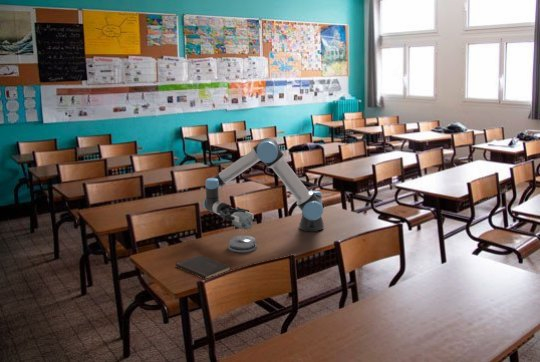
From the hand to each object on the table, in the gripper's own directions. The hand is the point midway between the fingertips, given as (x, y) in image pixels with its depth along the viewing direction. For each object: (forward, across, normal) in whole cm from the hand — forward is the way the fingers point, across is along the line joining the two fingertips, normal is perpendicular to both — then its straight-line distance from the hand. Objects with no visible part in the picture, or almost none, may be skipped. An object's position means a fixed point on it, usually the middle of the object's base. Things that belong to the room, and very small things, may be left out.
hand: (245, 218), depth 277 cm
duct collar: (-3, 0, -18) cm, 18 cm away
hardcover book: (+7, +32, -19) cm, 37 cm away
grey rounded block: (-4, 0, -6) cm, 7 cm away
